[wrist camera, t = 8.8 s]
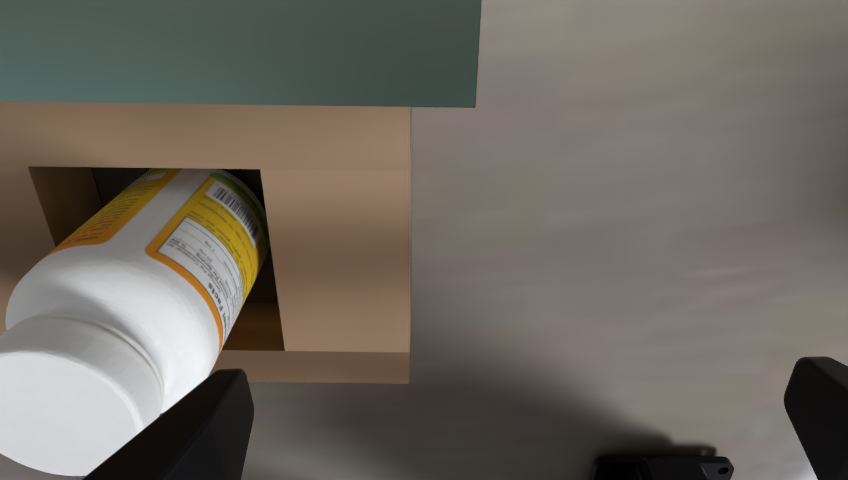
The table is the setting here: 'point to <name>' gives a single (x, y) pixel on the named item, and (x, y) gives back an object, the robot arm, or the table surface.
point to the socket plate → (243, 147)
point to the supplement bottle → (126, 316)
